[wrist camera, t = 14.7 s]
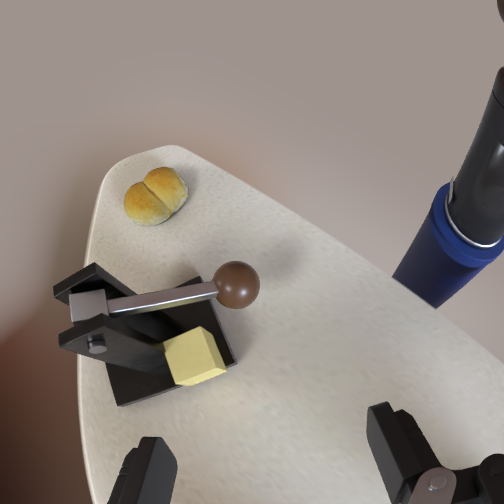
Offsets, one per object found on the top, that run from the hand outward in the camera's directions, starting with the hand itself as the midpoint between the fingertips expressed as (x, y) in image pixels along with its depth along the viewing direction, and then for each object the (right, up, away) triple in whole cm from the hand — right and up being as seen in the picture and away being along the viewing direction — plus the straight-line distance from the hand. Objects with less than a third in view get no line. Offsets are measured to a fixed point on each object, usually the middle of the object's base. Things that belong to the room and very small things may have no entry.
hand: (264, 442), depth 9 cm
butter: (-5, -3, +17) cm, 18 cm away
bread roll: (-13, +14, +30) cm, 35 cm away
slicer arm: (-7, +2, +14) cm, 16 cm away
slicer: (-10, -3, +20) cm, 22 cm away
